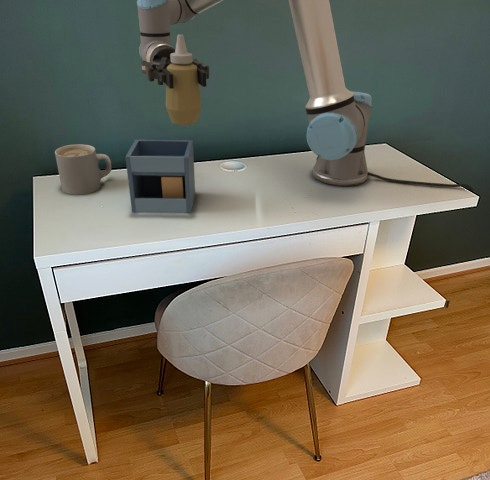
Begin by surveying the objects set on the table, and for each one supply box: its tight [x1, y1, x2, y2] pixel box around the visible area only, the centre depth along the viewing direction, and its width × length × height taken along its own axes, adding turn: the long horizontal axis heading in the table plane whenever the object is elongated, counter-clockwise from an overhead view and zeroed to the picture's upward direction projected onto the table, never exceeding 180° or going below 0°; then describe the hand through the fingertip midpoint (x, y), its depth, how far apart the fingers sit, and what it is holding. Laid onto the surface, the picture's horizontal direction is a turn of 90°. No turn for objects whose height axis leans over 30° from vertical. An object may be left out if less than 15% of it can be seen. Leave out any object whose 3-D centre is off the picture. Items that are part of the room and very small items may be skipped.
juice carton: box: [161, 176, 186, 198], centre depth 122 cm, size 5×5×8 cm
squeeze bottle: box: [165, 34, 202, 126], centre depth 110 cm, size 8×8×18 cm
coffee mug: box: [54, 143, 112, 196], centre depth 131 cm, size 13×10×10 cm
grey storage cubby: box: [125, 139, 196, 214], centre depth 121 cm, size 14×12×14 cm
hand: (188, 80), depth 105 cm, fingers closed on squeeze bottle, 6 cm apart
